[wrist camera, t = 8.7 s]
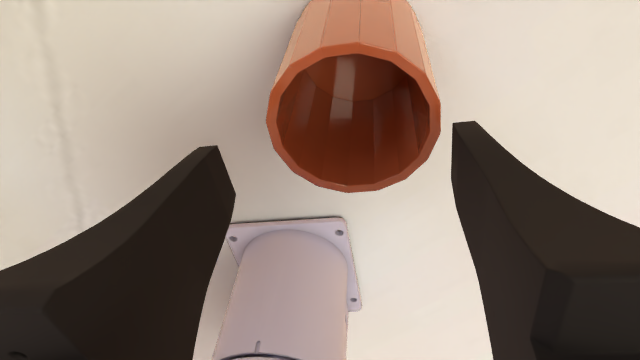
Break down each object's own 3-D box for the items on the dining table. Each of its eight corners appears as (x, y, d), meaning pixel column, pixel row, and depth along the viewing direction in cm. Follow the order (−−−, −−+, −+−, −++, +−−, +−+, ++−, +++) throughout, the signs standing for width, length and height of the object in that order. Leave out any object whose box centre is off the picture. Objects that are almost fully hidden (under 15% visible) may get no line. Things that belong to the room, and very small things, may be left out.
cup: (422, 93, 21) (441, 186, 15) (308, 106, 22) (288, 197, 16) (418, -33, 17) (440, 30, 12) (282, -10, 18) (246, 57, 13)
